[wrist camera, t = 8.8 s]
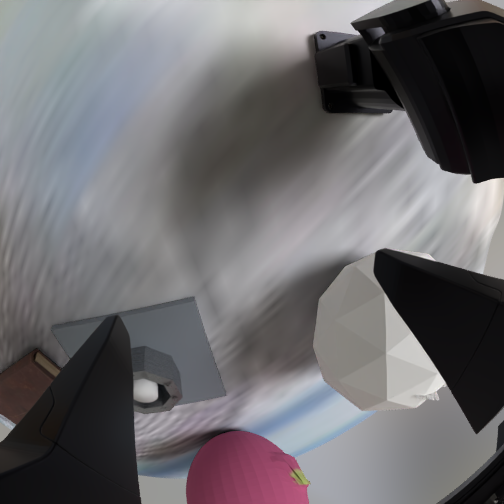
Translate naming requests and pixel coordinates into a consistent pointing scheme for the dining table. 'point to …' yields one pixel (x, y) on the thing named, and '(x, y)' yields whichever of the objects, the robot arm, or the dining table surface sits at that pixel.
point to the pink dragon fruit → (244, 473)
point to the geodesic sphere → (371, 344)
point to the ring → (157, 378)
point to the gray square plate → (160, 346)
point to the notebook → (25, 384)
